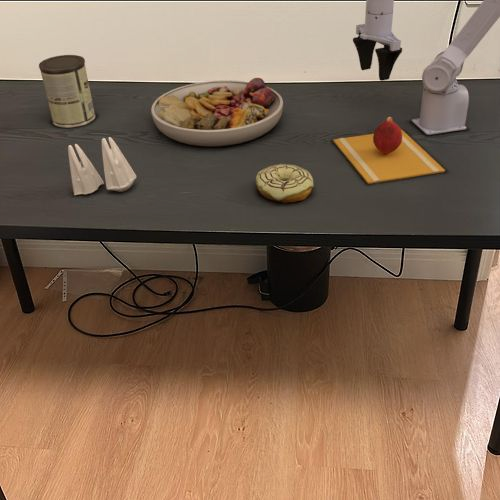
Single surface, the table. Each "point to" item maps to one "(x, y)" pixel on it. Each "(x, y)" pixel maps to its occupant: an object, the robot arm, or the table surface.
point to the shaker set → (88, 178)
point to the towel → (387, 159)
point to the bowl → (218, 112)
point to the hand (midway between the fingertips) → (374, 74)
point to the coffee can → (67, 90)
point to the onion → (387, 136)
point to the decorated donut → (284, 183)
